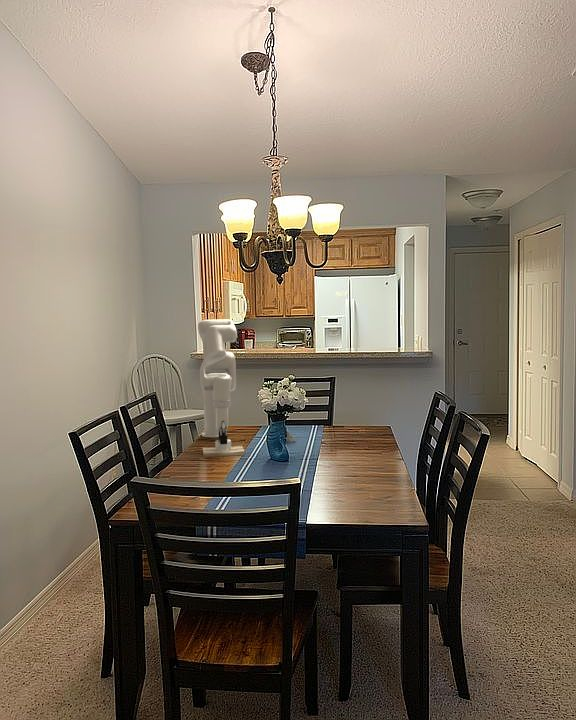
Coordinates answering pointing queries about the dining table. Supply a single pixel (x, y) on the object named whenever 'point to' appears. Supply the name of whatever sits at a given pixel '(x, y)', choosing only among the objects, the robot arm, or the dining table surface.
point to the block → (213, 453)
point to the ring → (223, 446)
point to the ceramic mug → (290, 437)
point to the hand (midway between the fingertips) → (223, 441)
